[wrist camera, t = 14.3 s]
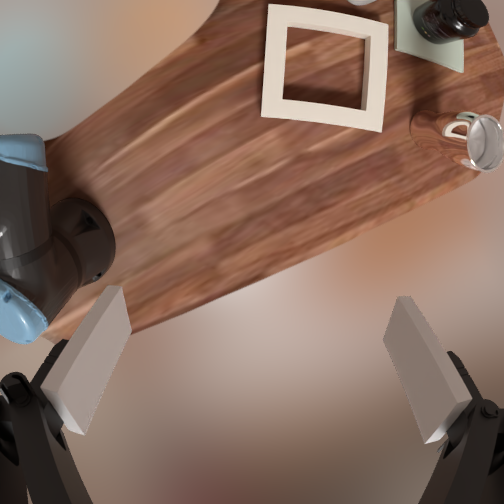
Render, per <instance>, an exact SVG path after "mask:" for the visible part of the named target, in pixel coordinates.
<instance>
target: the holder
mask: <svg viewBox="0 0 504 504" xmlns="http://www.w3.org/2000/svg"><path fill="white" fill-rule="evenodd" d="M287 27H297V28H305V29H313V30H319V31H326V32H332V33H337V34H343V35H348V36H353V37H357V38H362V39H365V56H364V74H363V88H362V100H361V110H357V109H352V108H346V107H340V106H333V105H327V104H319V103H312V102H303V101H294V100H284V99H282V97H283V83H284V69H285V54H286V38H287ZM387 58H388V24H385V23H381V22H377V21H373V20H369V19H365V18H361V17H357V16H352V15H347V14H342V13H337V12H332V11H326V10H320V9H313V8H306V7H298V6H288V5H277V4H269V6H268V21H267V36H266V50H265V65H264V80H263V95H262V110H261V117H272V118H284V119H294V120H304V121H312V122H320V123H328V124H335V125H341V126H348V127H354V128H360V129H366V130H371V131H376V132H382V124H383V114H384V103H385V91H386V77H387Z"/></svg>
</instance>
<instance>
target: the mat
mask: <svg viewBox="0 0 504 504" xmlns="http://www.w3.org/2000/svg"><path fill="white" fill-rule="evenodd" d="M427 1H428V0H394V11H395V39H394V50H397V51H400V52H404V53H407V54H410V55H413V56H416V57H419V58H422V59H425V60H428V61H431V62H434V63H437V64H439V65H442V66H444V67H447V68H450V69H452V70H455V71H457V72H459V73H463V67H464V46H463V39H462V40H458V41H454V42H450V43H446V44H441V45H438V44H433V43H431V42H429V41H427V40H426V39H424V38H423V37H422V36H421V35H420V34H419V32H418V31H417V29H416V27H415V25H414V22H413V13H414V10H415V9H416V8H417V7H418V6H420V5H421V4H423V3H425V2H427Z"/></svg>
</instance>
